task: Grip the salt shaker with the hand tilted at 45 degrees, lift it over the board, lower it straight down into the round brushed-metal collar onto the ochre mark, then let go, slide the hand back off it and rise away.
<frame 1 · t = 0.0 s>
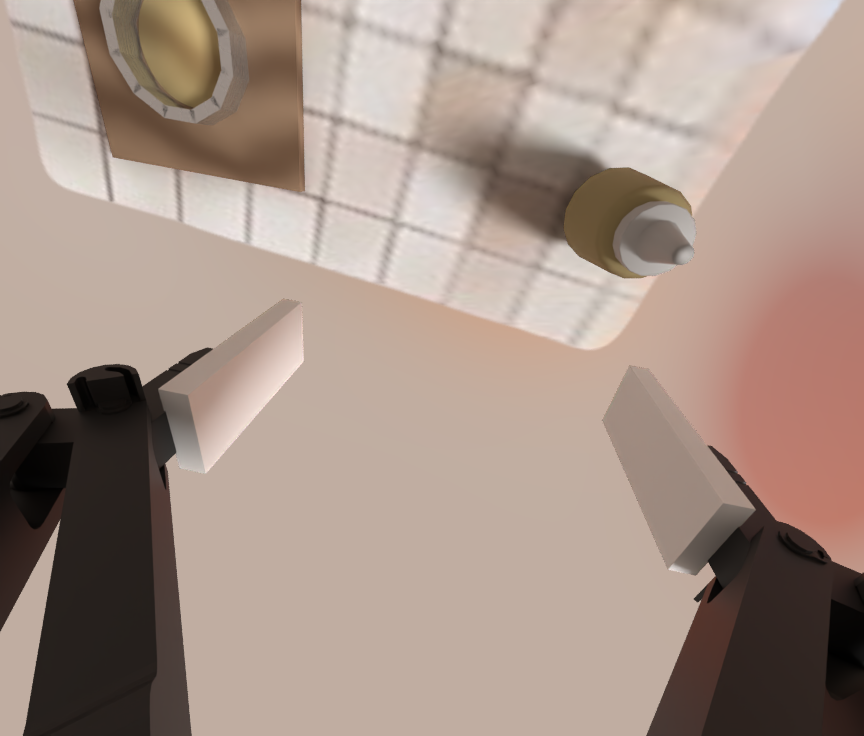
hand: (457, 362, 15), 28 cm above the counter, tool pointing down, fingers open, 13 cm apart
collar board: (196, 53, 34), on the counter
squeeze bottle: (598, 212, 37), on the counter
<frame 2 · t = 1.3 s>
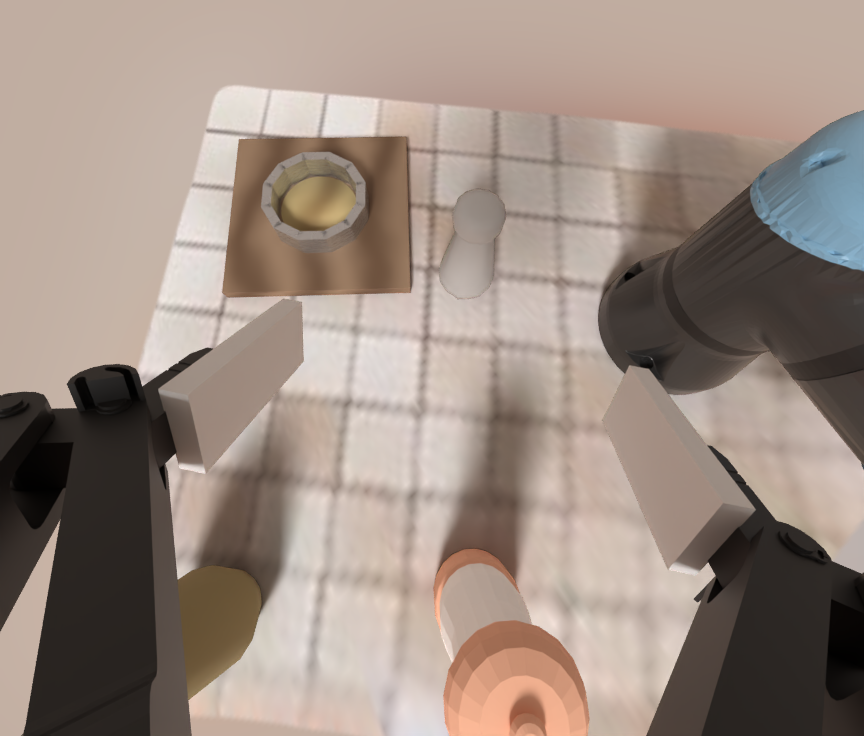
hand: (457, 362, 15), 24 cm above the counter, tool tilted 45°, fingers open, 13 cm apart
collar board: (322, 216, 44), on the counter
salt shaker: (463, 283, 42), on the counter
pepper shaker: (472, 590, 34), on the counter
squeeze bottle: (230, 602, 34), on the counter
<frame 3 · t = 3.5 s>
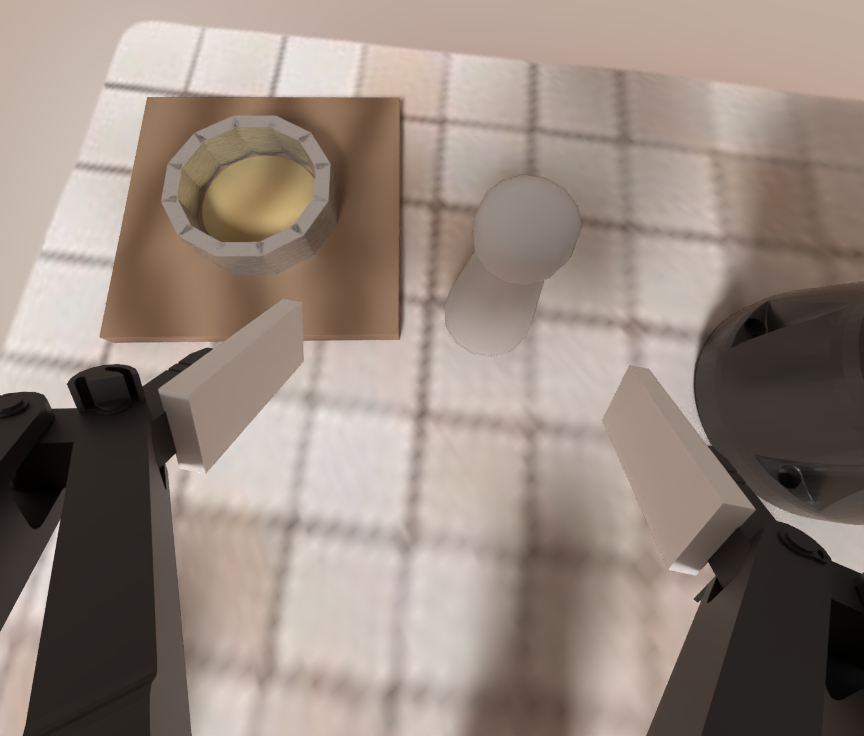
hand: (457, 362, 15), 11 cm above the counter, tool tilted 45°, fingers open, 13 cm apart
collar board: (269, 216, 29), on the counter
salt shaker: (482, 326, 27), on the counter
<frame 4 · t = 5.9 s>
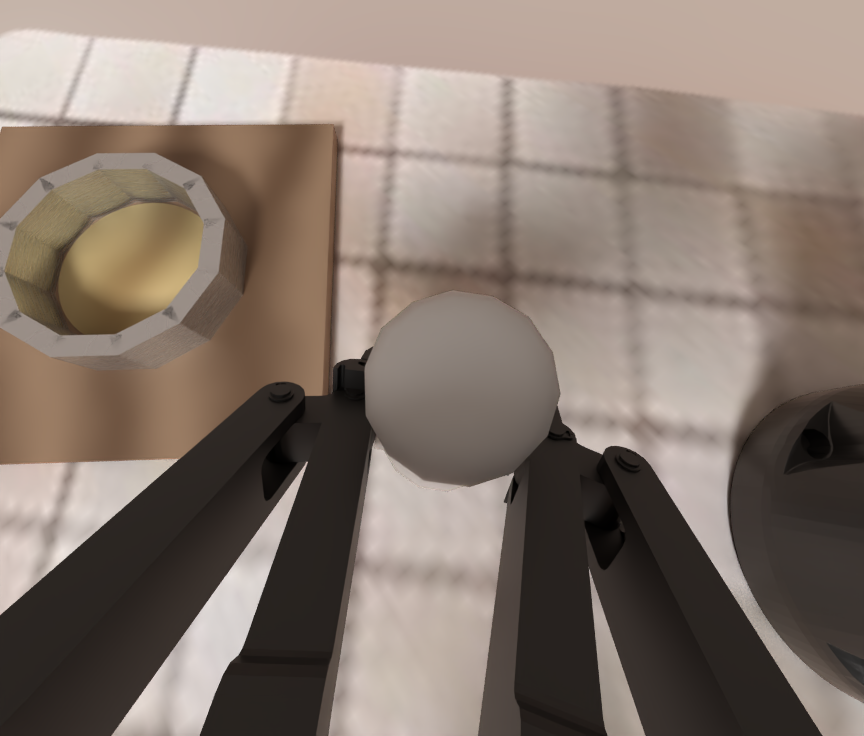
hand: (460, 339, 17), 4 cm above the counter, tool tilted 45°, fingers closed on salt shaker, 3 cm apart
collar board: (159, 282, 22), on the counter
salt shaker: (440, 431, 20), on the counter, touching gripper
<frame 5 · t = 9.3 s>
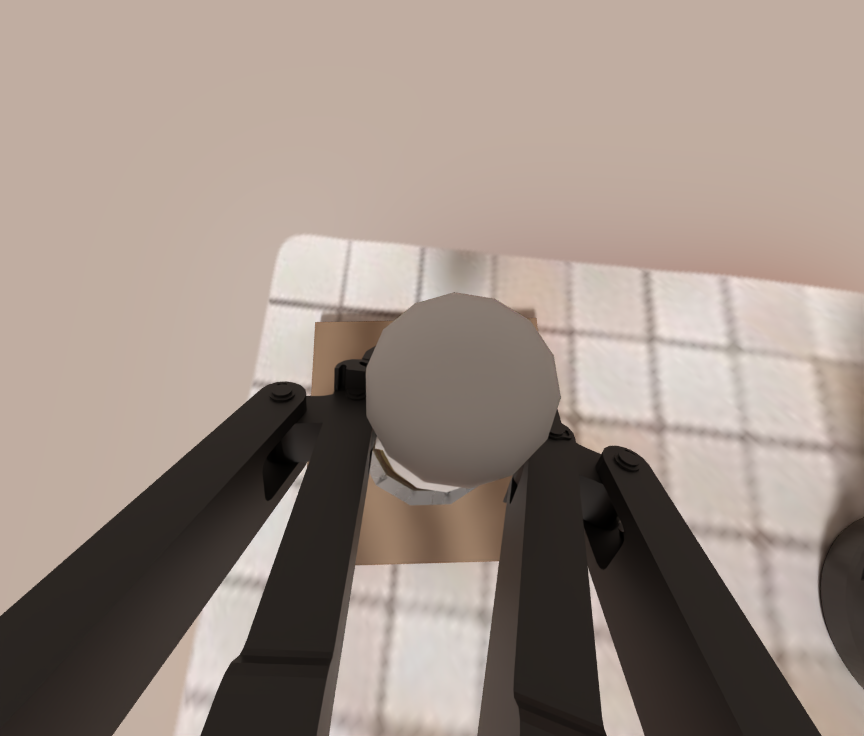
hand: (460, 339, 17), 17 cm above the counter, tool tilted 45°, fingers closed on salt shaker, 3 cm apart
collar board: (428, 433, 32), on the counter
salt shaker: (438, 431, 20), point 12 cm above the counter, touching gripper
when the fingers open (6 cm above the counter, at t = 12.2 s): salt shaker stays where it is, resting on collar board.
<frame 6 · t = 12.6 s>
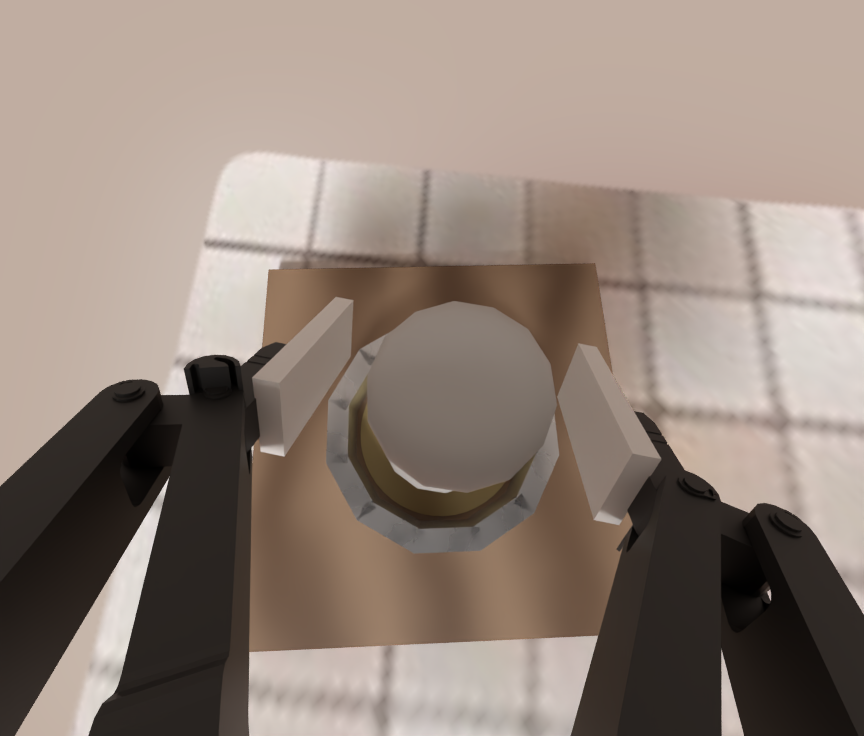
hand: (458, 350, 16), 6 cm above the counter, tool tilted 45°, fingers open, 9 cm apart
collar board: (439, 433, 21), on the counter
salt shaker: (439, 432, 20), point 1 cm above the counter, touching collar board
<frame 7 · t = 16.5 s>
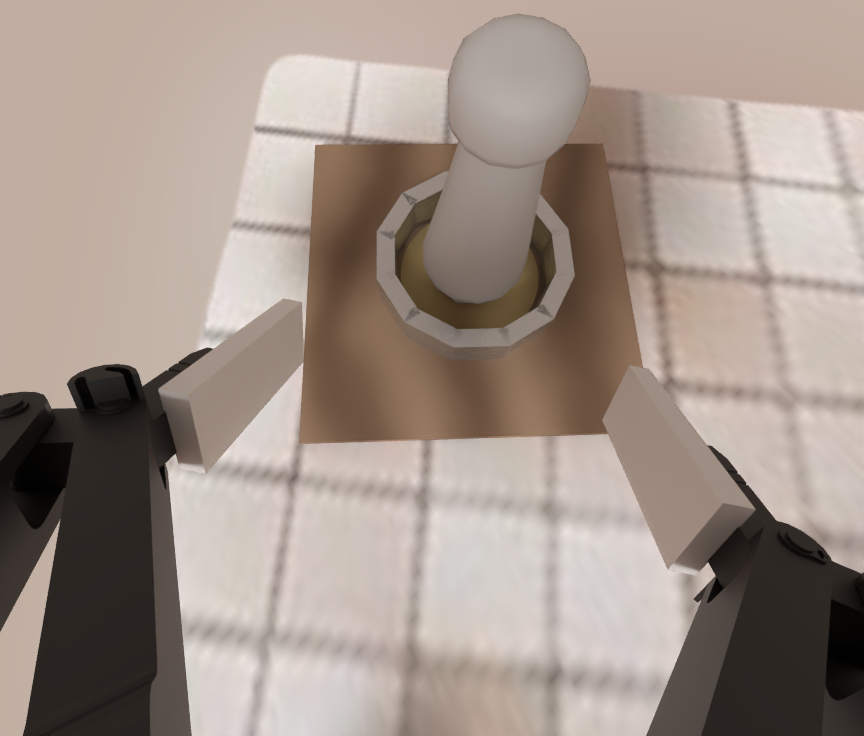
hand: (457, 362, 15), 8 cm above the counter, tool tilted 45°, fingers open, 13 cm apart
collar board: (467, 284, 24), on the counter
salt shaker: (468, 276, 23), point 1 cm above the counter, touching collar board
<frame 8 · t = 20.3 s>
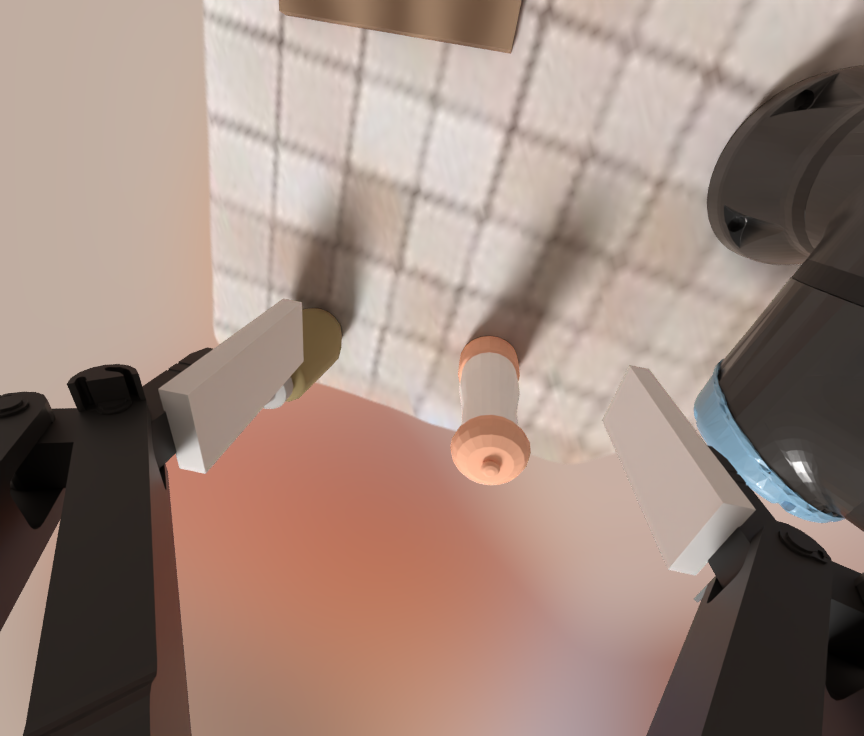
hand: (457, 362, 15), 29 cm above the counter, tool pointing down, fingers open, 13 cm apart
pepper shaker: (488, 360, 47), on the counter
squeeze bottle: (320, 328, 48), on the counter
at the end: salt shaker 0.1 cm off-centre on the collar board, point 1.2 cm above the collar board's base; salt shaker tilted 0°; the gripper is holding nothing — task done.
